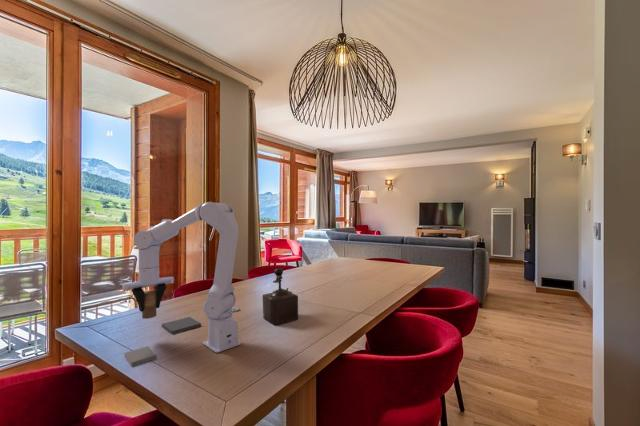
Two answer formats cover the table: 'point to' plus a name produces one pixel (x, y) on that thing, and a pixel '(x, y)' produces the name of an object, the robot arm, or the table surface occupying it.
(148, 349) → the tile
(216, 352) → the robot arm
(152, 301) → the peg
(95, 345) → the table surface
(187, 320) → the mat
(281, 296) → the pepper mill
